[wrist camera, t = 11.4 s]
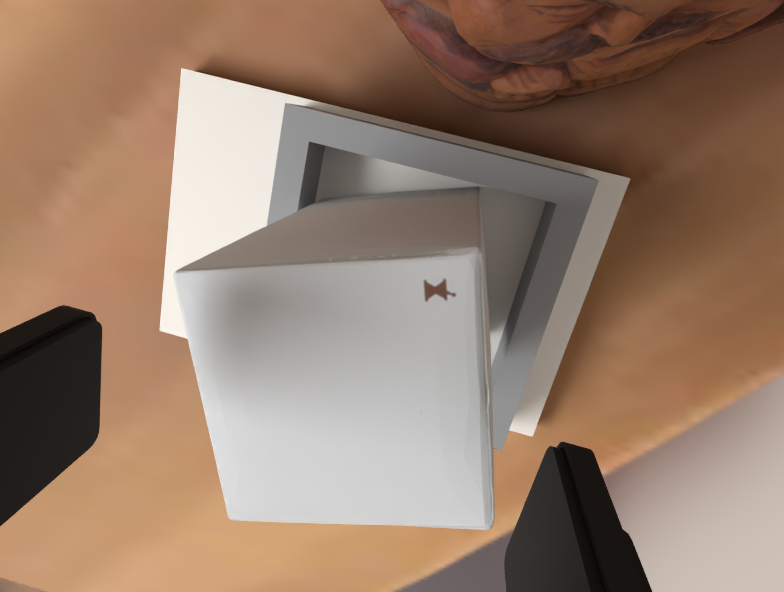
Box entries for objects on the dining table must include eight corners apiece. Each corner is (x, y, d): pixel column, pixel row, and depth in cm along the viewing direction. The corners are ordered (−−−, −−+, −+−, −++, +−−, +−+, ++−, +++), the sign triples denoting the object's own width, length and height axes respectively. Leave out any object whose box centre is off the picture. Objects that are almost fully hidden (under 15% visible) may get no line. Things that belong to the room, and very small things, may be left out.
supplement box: (319, 194, 24) (160, 259, 12) (483, 183, 22) (494, 243, 10) (337, 343, 26) (219, 526, 14) (487, 341, 24) (501, 540, 13)
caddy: (193, 70, 24) (147, 61, 20) (623, 176, 22) (649, 184, 19) (170, 324, 28) (129, 349, 25) (530, 425, 27) (538, 467, 23)
